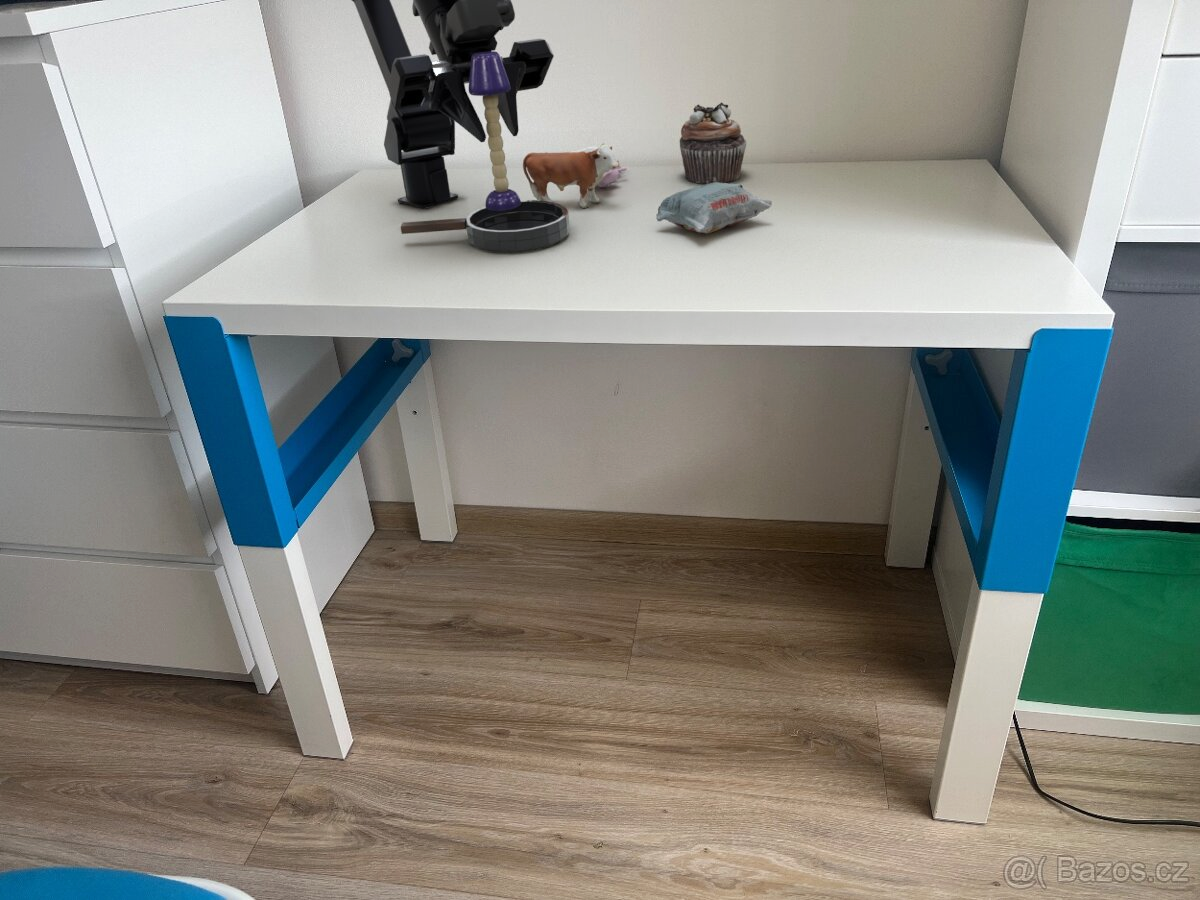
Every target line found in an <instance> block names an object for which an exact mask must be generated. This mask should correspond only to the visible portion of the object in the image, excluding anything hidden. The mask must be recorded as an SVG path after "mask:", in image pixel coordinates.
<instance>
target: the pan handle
mask: <svg viewBox="0 0 1200 900" xmlns="http://www.w3.org/2000/svg"><path fill="white" fill-rule="evenodd" d="M465 218H466V217H461V218H445V219H433V220H432V219H431V220H419V221H418V220H417V221H403V222H402V223H401V224H400V232H401V234H402V235H406V234H407V235H408V234H409V235H410V234H421V233H423V234H424V233H435V232H449V231H462V230H465V231H466V224H465Z"/></svg>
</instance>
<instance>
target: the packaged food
mask: <svg viewBox="0 0 1200 900" xmlns="http://www.w3.org/2000/svg"><path fill="white" fill-rule="evenodd" d="M772 203H773V201H772V200H769V199H762V198H759V197H757V196H755V195H754V194H752V193H751V192H749V191H747V190H746V189H745V188H744V187H743V185H742V184H738V183H729V182H727V183H719V182H715V183H710V184H701V185H698V186H694V187H690V188H687V189H684V190H681V191H678V192H675V193H674V194H672V195H670V196H668V197H666V198H663V200H662V202H661V203H660V205H659V206H658V208H657V213H656V216H655V217H656V218H655V219H656V220H657V222H662V221H663V220H665V221H668V222H669V223H671V224H674V225H676V226H677V227H680V228H682V229H684V230H688V231H692V232H696V233H701V234H711V233H713V232H716V231H719V230H722V229H726V228H730V227H732V226H735V225H737V224H740V223H742V222H744V221H747V220H750V219H752V218H755V217H757V216H758V215H760V213H763V212H765V211H766V210H768V209H770V208H771V207H772Z"/></svg>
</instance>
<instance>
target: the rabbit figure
mask: <svg viewBox="0 0 1200 900" xmlns="http://www.w3.org/2000/svg"><path fill="white" fill-rule="evenodd" d="M602 145H606V143H604V142H603V143H601V145H600V146H599V148H600V147H601V146H602ZM616 162H618V163H619V167H618V168H617V169H615V170H610V171H609V172H607V173H604V176H603V178H602V180H601V181H600V182H599V183H598V185H597V186H598V187H600V188H601V189H602V188H606V187H607V186H608V185H609V184H612V183H615V182H616V181H617V180H618V179H619V177H620V173H621V172H626V171H627V167H625V166H622V167H621V164H620V159H617V160H616Z"/></svg>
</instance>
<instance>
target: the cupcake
mask: <svg viewBox="0 0 1200 900" xmlns="http://www.w3.org/2000/svg"><path fill="white" fill-rule="evenodd" d="M731 115H732V111H731V109H730V108H729V104H724V103H723V102H720V103H718V104H717V105H716V106H715V107H711V106H707V107H704V106H702V105H700V104H697V105H695V106H694V108H693V112H692V113H691V114H690V115H689V118H688V120H686V121H685V122H684V123H683V124H682V127H681V128H680V135H681V136H680V138H679V149H680V155H681V159H682V165H683V169H684V175H685V179H686V180H687V181H689V182H691V183H694V184H695V183H696V184H701V185H706V184H710V183H715V182H719V183H731V182H734V181H737V180H738V179H740V177H741V176H740V175H741V170H742V165H743V161H744V157H745V152H746V148H747V143H748V142H747V139H745V138H744V135H743V134H742V133H741V132H742V130H741V129H742V128H741V127H740V124H739V122H737V121H736V120H733V119H730V117H731Z"/></svg>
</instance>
